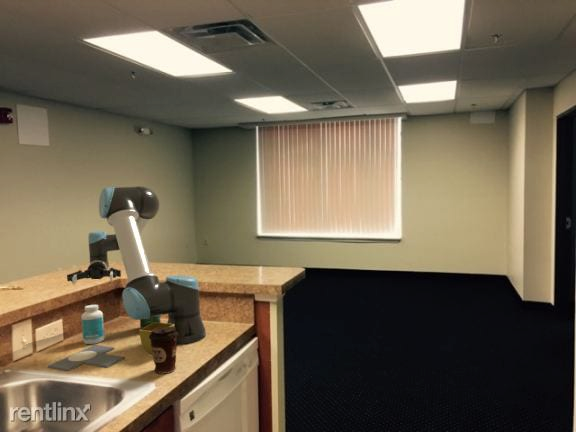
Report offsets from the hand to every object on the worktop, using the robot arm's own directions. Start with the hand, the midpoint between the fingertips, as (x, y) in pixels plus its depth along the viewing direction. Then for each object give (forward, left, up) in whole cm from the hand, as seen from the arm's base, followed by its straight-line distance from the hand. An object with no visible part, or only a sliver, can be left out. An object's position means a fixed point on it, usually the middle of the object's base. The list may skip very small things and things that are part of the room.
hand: (92, 279), depth 181 cm
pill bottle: (-6, +7, -22) cm, 24 cm away
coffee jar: (-17, -12, -22) cm, 30 cm away
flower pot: (-37, +9, -22) cm, 44 cm away
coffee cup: (-49, +21, -22) cm, 58 cm away
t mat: (-20, +21, -22) cm, 37 cm away
